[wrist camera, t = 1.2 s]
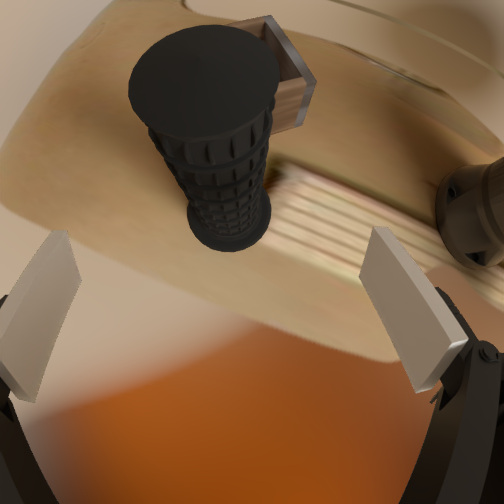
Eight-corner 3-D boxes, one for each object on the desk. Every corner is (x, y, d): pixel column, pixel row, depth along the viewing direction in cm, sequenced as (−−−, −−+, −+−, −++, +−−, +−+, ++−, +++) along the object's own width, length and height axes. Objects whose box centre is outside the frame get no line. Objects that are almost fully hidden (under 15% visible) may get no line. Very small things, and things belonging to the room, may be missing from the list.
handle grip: (175, 191, 38) (207, 266, 37) (77, 44, 11) (119, 210, 10) (249, 158, 38) (285, 230, 37) (256, -21, 12) (364, 110, 11)
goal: (302, 125, 39) (316, 81, 29) (237, 146, 39) (235, 103, 29) (266, 62, 40) (270, 14, 30) (207, 79, 40) (200, 31, 30)
